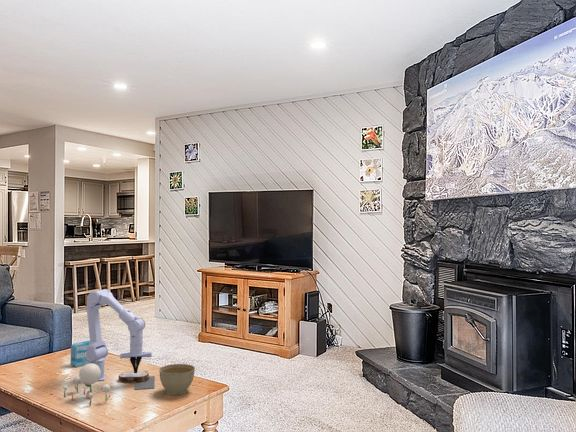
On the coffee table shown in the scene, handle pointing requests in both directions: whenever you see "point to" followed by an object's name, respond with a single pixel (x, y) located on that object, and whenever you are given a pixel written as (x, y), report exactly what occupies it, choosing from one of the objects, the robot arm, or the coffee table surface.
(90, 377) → the figurines
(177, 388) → the planter bowl
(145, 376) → the tin
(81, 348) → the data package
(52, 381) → the coffee table surface
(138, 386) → the mat
